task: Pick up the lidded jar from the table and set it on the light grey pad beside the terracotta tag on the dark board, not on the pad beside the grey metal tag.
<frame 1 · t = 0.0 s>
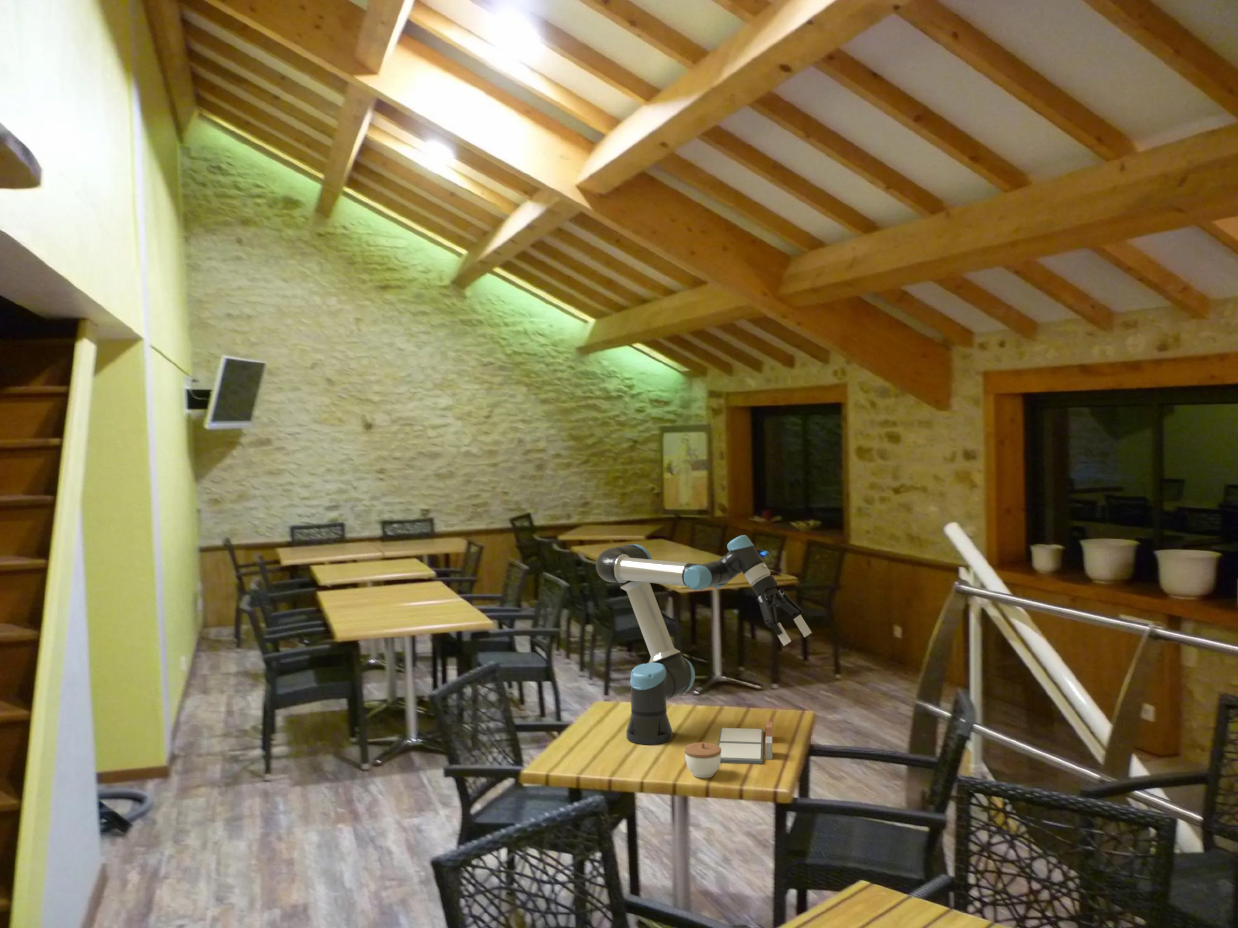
hand: (798, 639, 293), 36 cm above the table, tool tilted 35°, fingers open, 13 cm apart
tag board: (740, 746, 303), on the table
lidded jar: (703, 774, 280), on the table
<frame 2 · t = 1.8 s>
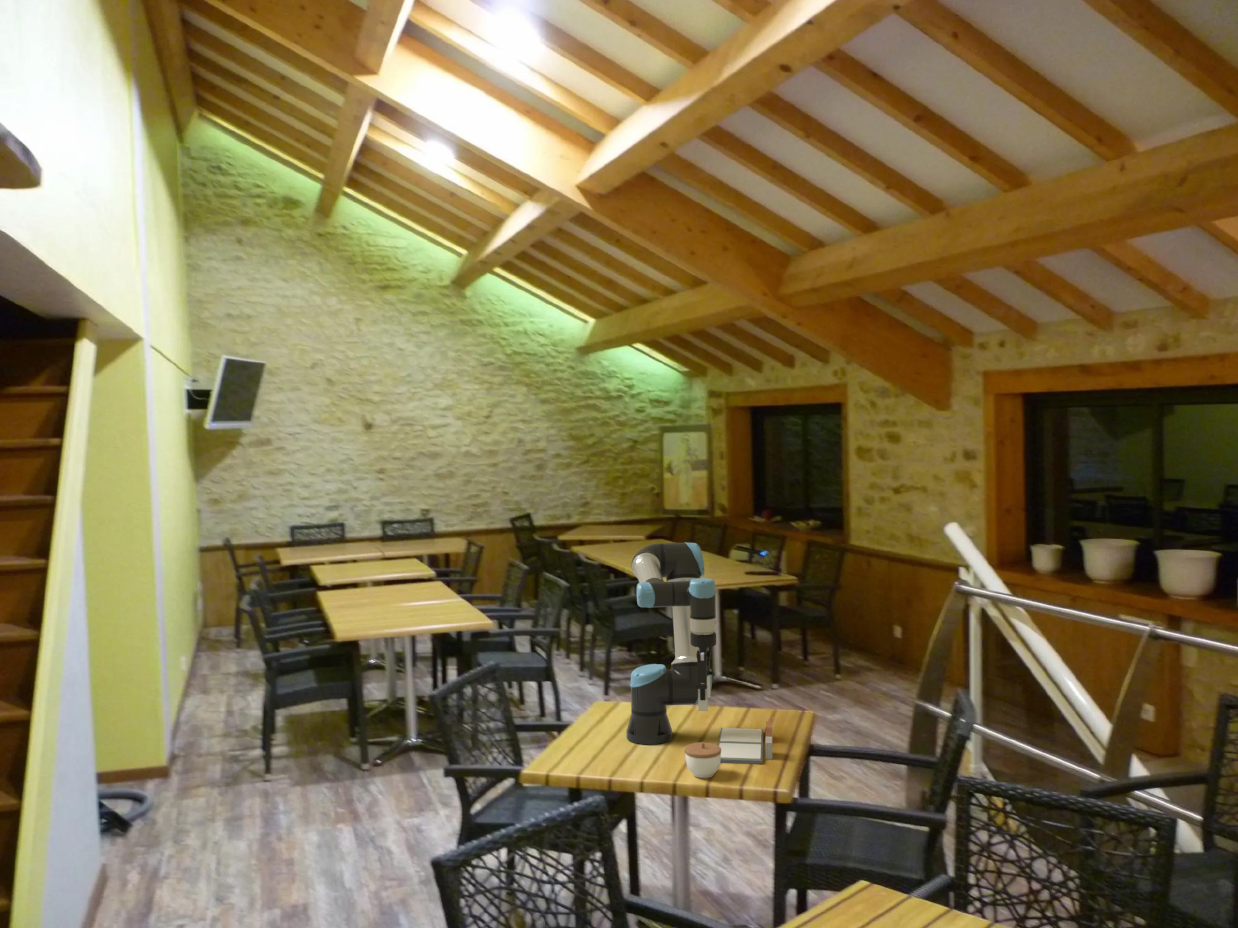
hand: (704, 703, 279), 21 cm above the table, tool pointing down, fingers open, 13 cm apart
nothing on the table moved.
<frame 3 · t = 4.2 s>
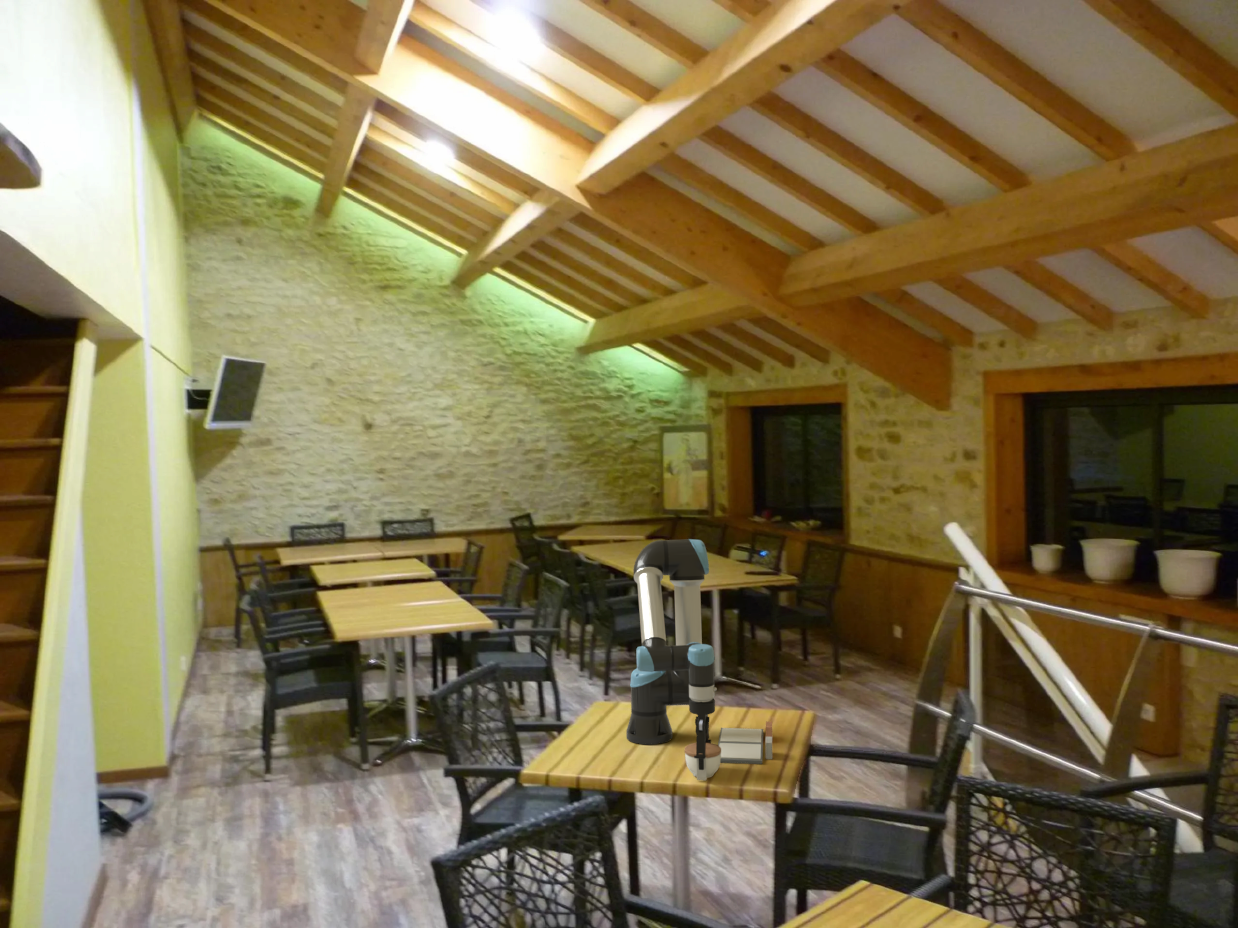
hand: (703, 772, 280), 0 cm above the table, tool pointing down, fingers closed on lidded jar, 11 cm apart
lidded jar: (703, 774, 280), on the table, touching gripper
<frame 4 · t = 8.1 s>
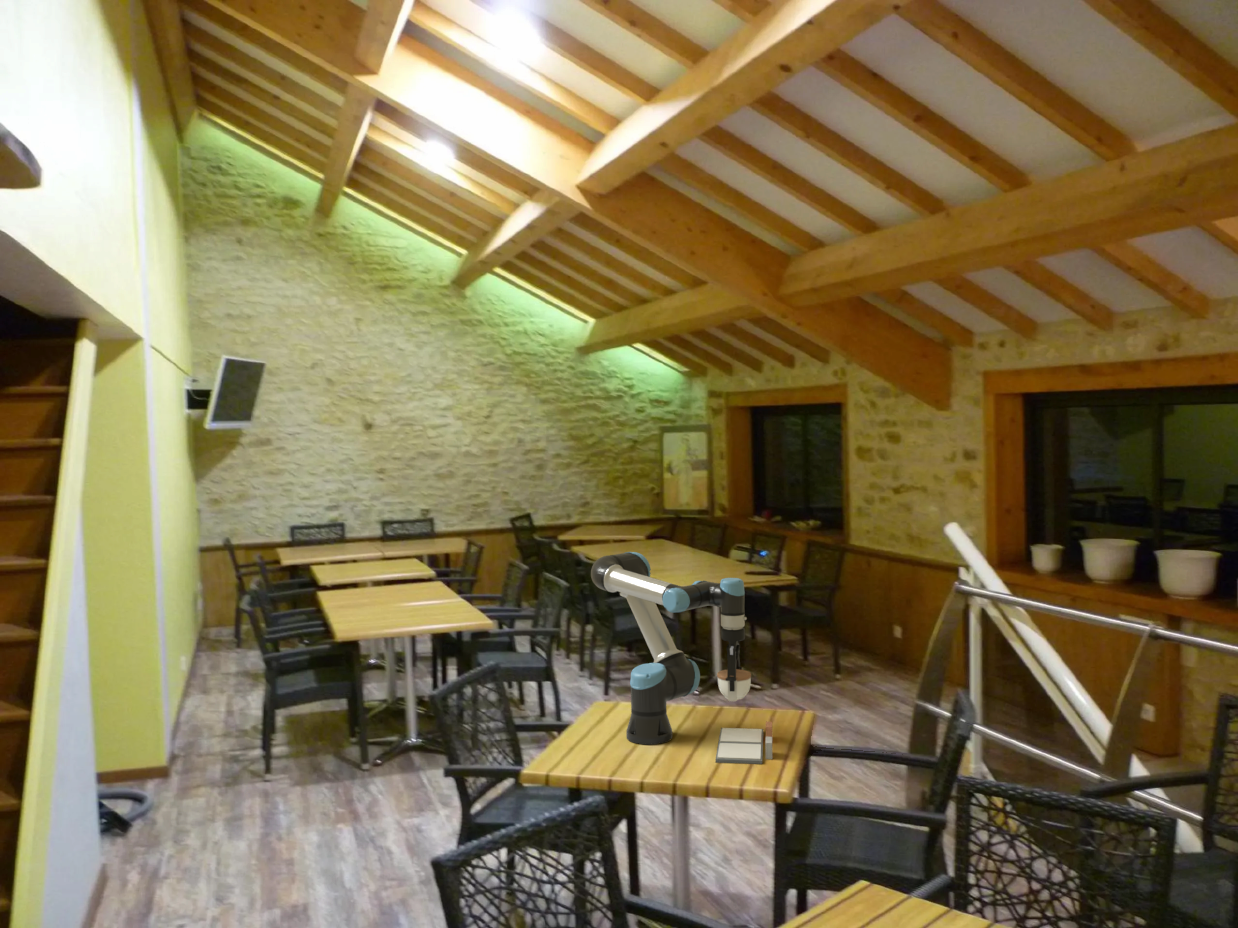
hand: (734, 695, 304), 16 cm above the table, tool pointing down, fingers closed on lidded jar, 11 cm apart
lidded jar: (734, 697, 304), point 15 cm above the table, touching gripper
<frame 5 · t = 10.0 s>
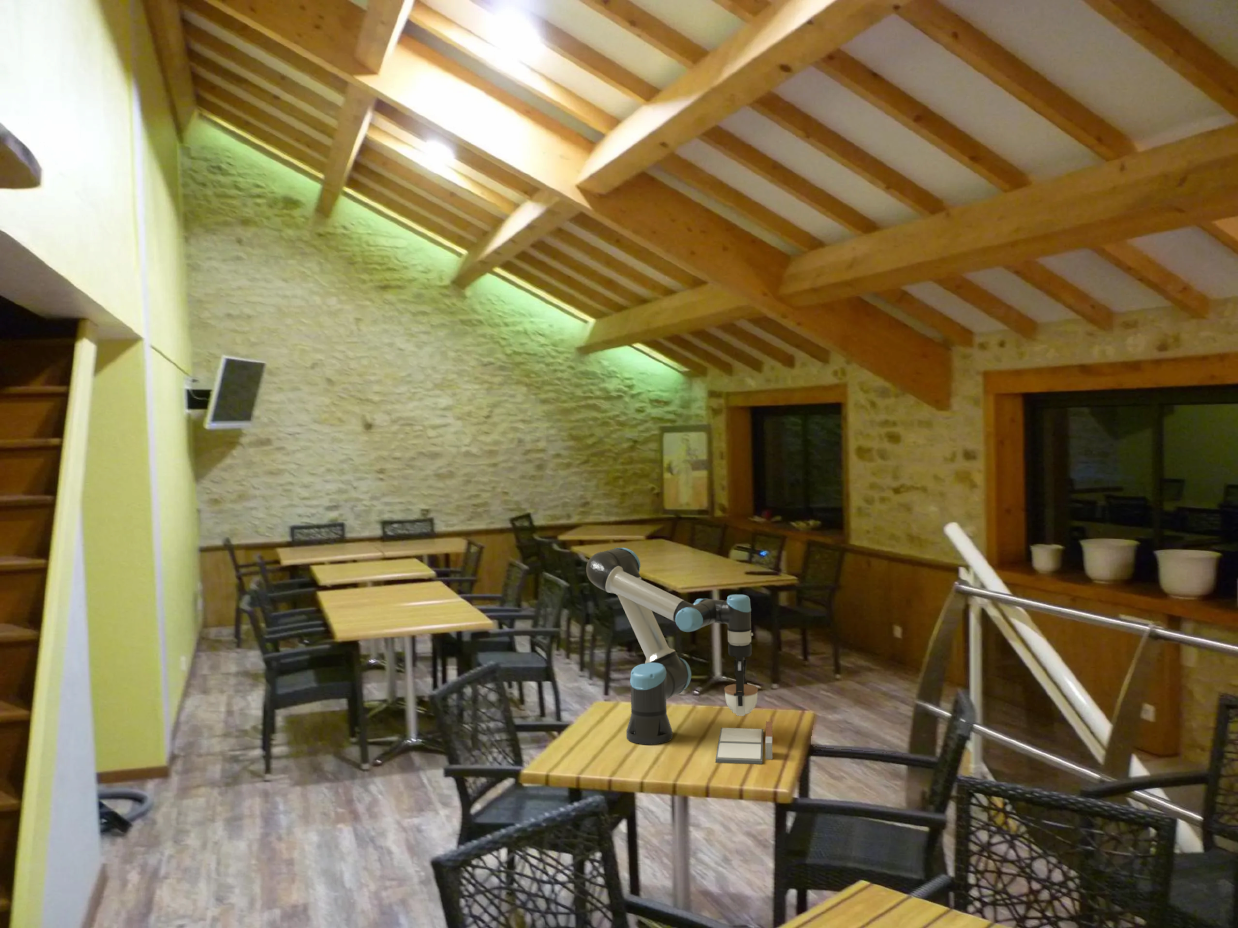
hand: (741, 710, 310), 9 cm above the table, tool pointing down, fingers closed on lidded jar, 11 cm apart
lidded jar: (741, 712, 310), point 9 cm above the table, touching gripper
when the fingers open (3 cm above the table, at t = 11.8 s): lidded jar stays where it is, resting on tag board.
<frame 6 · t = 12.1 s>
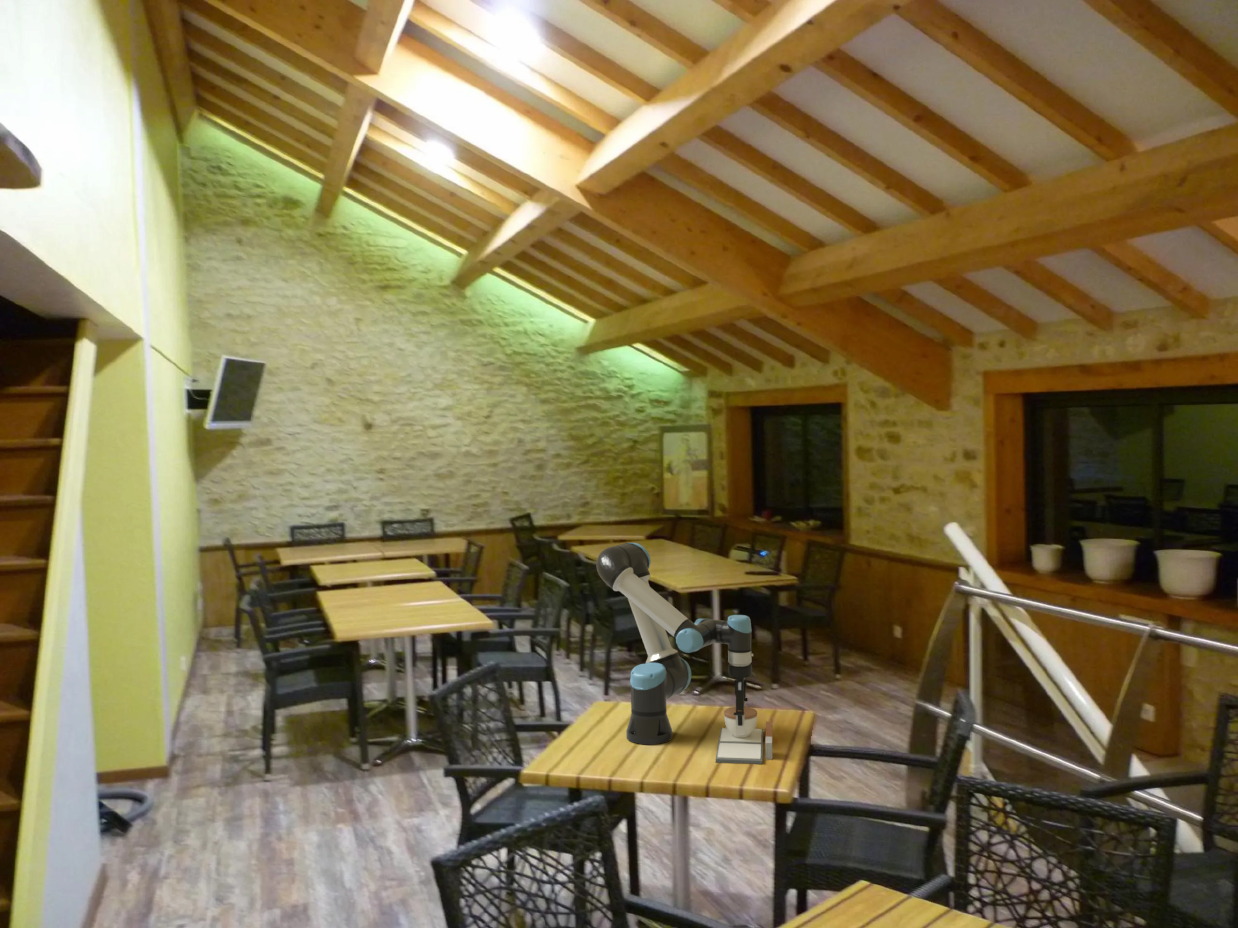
hand: (741, 727, 310), 4 cm above the table, tool pointing down, fingers open, 13 cm apart
lidded jar: (741, 735, 310), point 1 cm above the table, touching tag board
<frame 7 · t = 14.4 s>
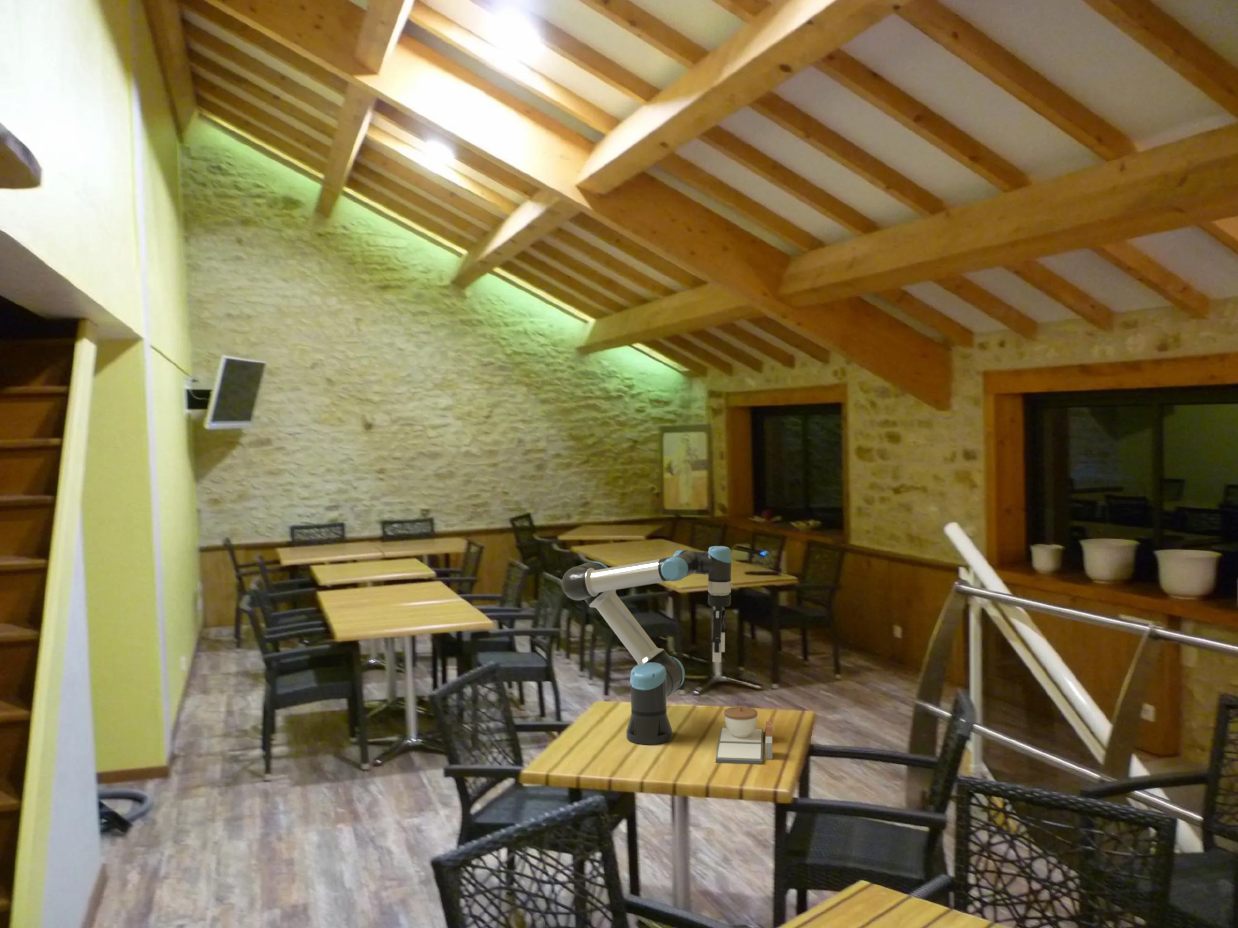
hand: (718, 656, 316), 25 cm above the table, tool pointing down, fingers open, 13 cm apart
nothing on the table moved.
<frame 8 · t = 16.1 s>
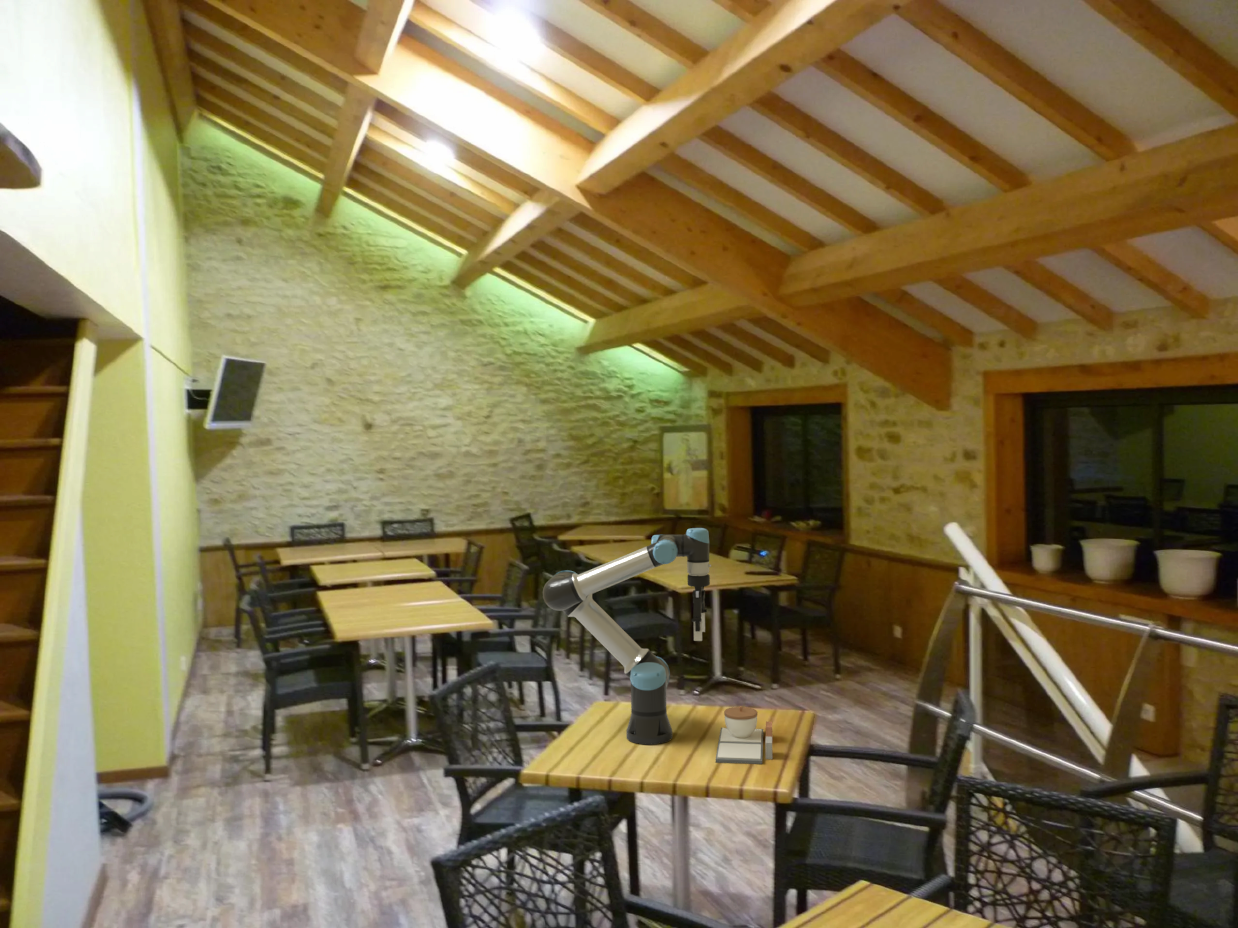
hand: (699, 636, 323), 31 cm above the table, tool pointing down, fingers open, 13 cm apart
nothing on the table moved.
at the end: lidded jar inside the target area on the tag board (0.1 cm from its centre), point 1.1 cm above the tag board's base; lidded jar tilted 0°; the gripper is holding nothing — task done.
